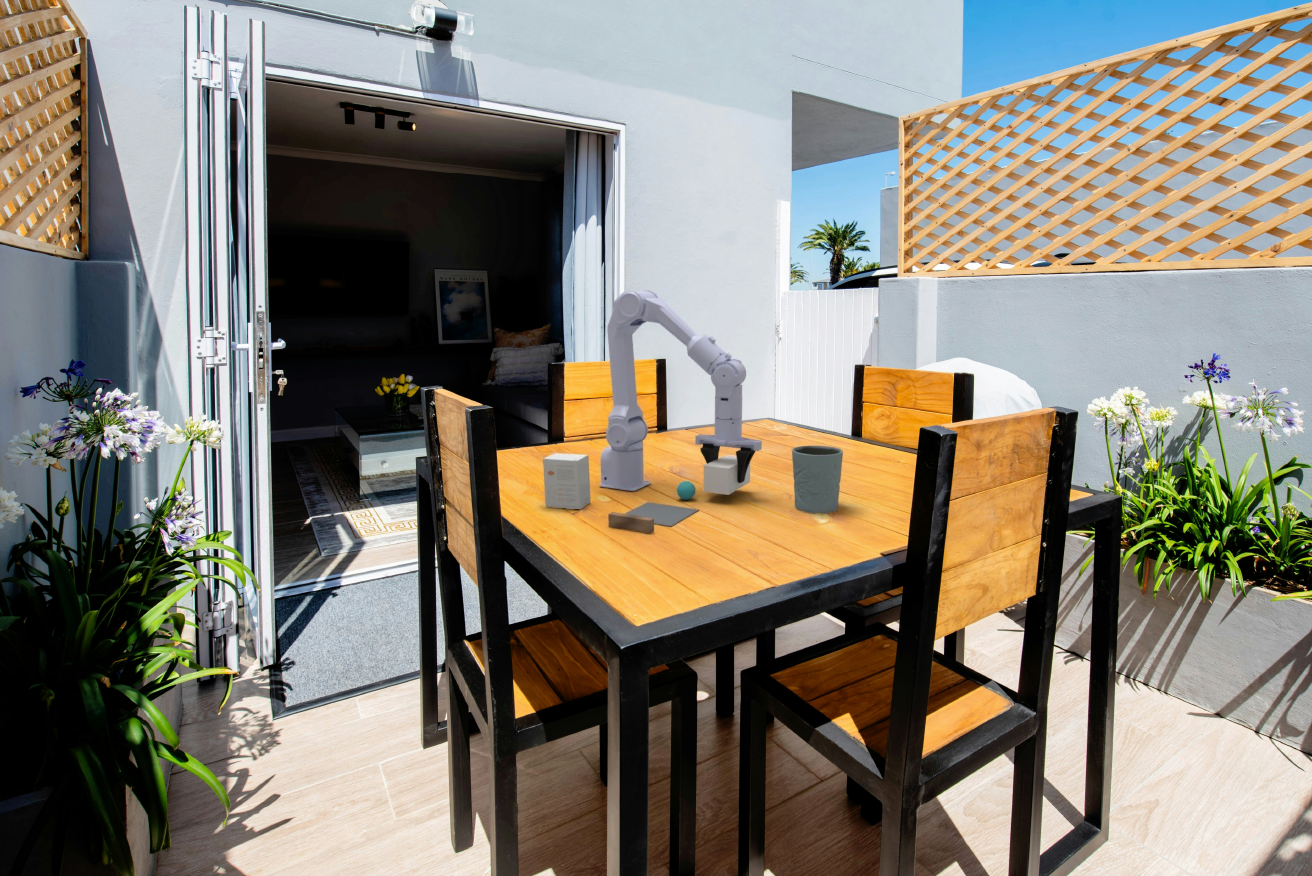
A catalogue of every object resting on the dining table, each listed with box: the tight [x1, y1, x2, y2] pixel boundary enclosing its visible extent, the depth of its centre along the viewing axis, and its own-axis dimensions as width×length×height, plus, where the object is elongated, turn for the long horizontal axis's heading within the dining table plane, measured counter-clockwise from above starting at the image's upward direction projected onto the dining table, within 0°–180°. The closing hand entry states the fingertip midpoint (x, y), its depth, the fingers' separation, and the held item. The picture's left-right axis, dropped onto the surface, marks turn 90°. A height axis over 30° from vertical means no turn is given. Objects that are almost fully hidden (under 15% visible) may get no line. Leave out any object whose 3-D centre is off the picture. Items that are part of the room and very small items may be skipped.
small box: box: [542, 452, 592, 511], centre depth 147 cm, size 8×6×10 cm
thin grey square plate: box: [624, 501, 700, 528], centre depth 141 cm, size 12×12×1 cm
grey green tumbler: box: [791, 445, 844, 514], centre depth 144 cm, size 10×10×12 cm
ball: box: [676, 480, 696, 501], centre depth 151 cm, size 4×4×4 cm
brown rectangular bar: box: [607, 511, 655, 535], centre depth 132 cm, size 9×2×2 cm, turn 61°
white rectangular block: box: [703, 454, 751, 496], centre depth 152 cm, size 6×12×6 cm, turn 151°
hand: (727, 480), depth 152 cm, fingers closed on white rectangular block, 6 cm apart
